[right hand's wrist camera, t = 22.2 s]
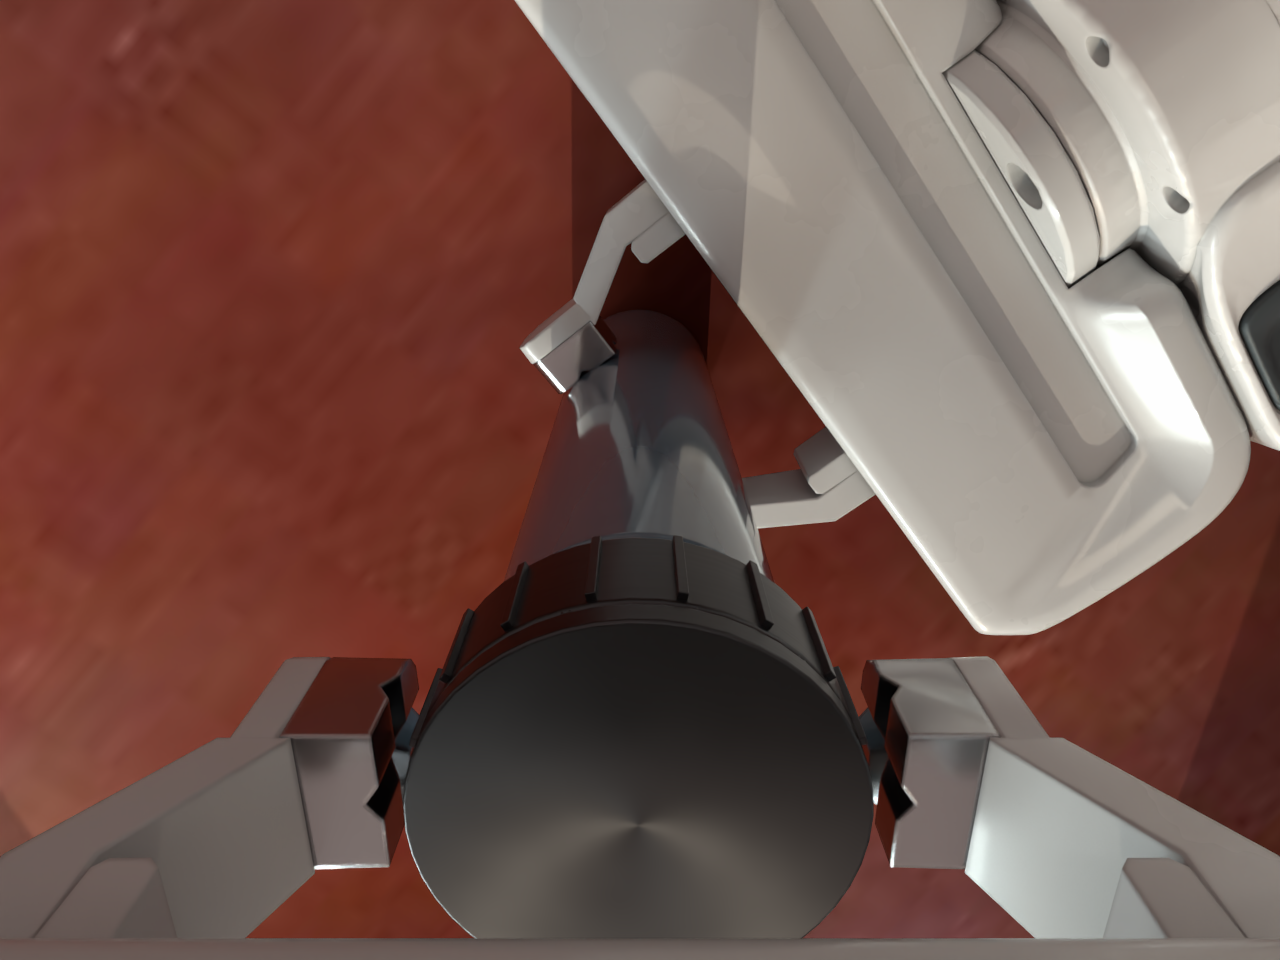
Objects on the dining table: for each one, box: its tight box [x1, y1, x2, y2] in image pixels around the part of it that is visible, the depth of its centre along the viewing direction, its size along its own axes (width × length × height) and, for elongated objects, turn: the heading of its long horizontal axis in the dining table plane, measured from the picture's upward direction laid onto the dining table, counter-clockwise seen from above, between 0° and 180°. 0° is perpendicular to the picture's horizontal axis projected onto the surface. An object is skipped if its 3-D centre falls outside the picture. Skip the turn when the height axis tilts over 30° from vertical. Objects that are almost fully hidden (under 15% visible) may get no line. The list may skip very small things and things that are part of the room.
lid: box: [403, 535, 873, 939], centre depth 10 cm, size 5×5×2 cm
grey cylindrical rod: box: [504, 310, 774, 583], centre depth 18 cm, size 4×4×18 cm
